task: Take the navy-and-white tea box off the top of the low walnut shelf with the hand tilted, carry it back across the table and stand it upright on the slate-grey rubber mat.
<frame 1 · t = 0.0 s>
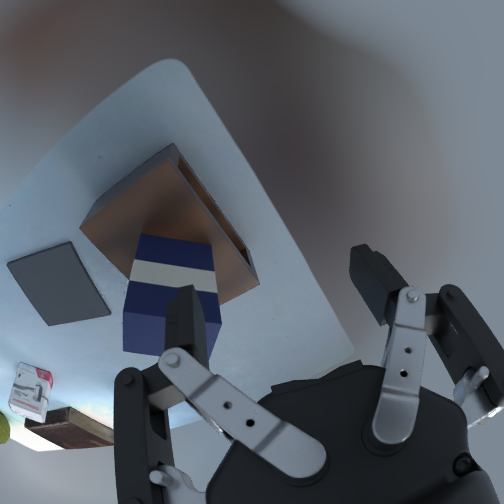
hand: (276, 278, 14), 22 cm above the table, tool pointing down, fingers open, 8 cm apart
shelf: (175, 226, 36), on the table
ink box: (36, 371, 49), on the table
hardback book: (67, 423, 66), on the table
mat: (57, 288, 38), on the table
tea box: (172, 258, 31), point 7 cm above the table, touching shelf
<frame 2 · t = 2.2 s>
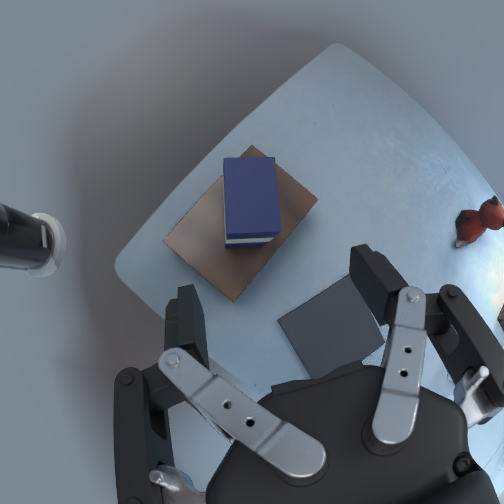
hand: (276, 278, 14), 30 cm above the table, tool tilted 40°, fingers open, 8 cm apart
shelf: (239, 228, 45), on the table
mat: (334, 332, 45), on the table
tea box: (242, 218, 38), point 7 cm above the table, touching shelf
stuffed fox: (460, 230, 50), on the table
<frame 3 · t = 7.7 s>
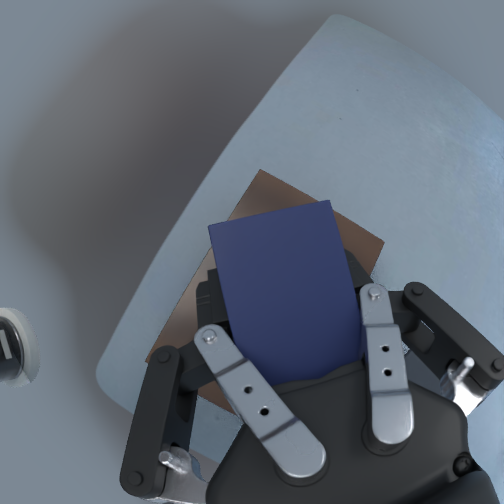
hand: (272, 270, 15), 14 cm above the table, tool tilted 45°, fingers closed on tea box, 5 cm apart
shelf: (264, 303, 29), on the table
mat: (414, 409, 27), on the table
tea box: (270, 303, 22), point 7 cm above the table, touching gripper, shelf
when the fingers open (8 cm above the table, at t = 18.2 s): tea box stays where it is, resting on mat.
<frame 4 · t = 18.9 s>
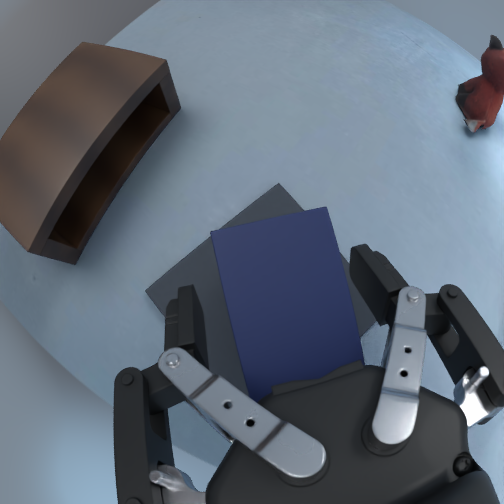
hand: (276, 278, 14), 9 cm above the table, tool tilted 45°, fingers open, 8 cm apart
shelf: (85, 157, 25), on the table
mat: (269, 304, 23), on the table
tea box: (270, 305, 22), point 1 cm above the table, touching mat
stuffed fox: (468, 113, 27), on the table
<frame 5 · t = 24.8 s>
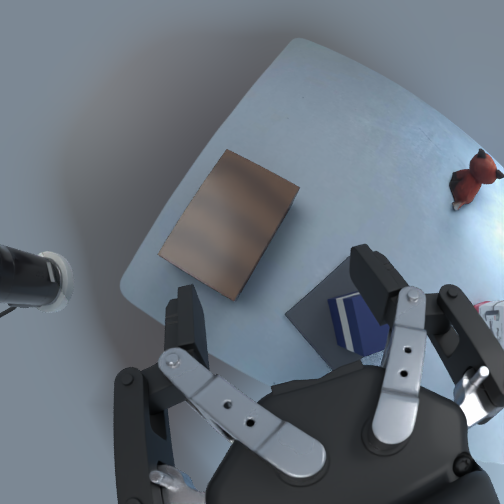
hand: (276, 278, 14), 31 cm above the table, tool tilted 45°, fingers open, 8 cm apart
shelf: (231, 231, 46), on the table
ink box: (478, 324, 44), on the table
mat: (345, 317, 44), on the table
tea box: (347, 318, 44), point 1 cm above the table, touching mat
stuffed fox: (456, 192, 49), on the table
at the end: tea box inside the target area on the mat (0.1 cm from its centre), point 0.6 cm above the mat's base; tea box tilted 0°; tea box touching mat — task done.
